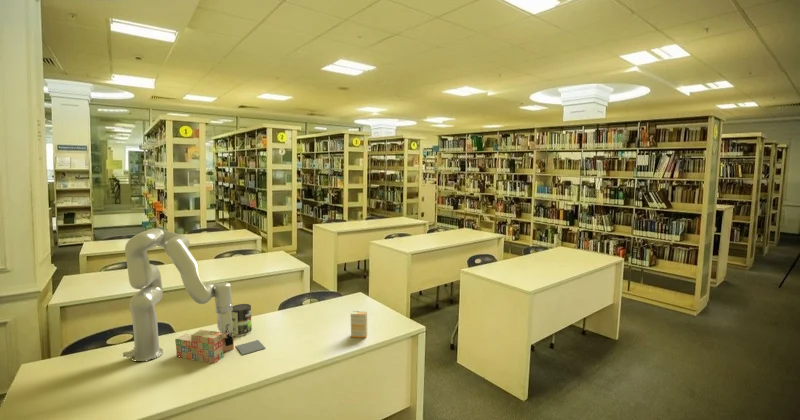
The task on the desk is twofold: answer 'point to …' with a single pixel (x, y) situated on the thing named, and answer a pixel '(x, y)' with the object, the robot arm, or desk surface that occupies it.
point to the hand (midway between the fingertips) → (226, 341)
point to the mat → (250, 347)
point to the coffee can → (241, 320)
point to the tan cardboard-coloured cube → (227, 348)
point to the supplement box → (359, 324)
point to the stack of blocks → (201, 346)
